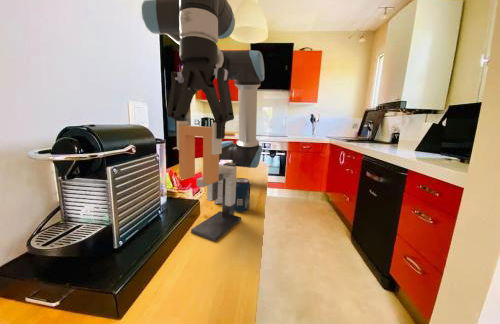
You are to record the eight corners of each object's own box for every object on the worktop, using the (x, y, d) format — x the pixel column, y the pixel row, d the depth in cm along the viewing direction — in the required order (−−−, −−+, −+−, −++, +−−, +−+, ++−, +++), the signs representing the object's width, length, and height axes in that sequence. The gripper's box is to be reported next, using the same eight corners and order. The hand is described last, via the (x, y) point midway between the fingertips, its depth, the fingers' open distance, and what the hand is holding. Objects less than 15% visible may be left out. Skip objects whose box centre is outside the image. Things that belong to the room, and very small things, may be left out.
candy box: (219, 192, 96) (220, 159, 93) (232, 193, 96) (233, 159, 93) (213, 204, 83) (214, 165, 80) (228, 205, 83) (229, 166, 80)
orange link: (188, 174, 50) (188, 125, 47) (218, 180, 46) (219, 127, 43) (179, 177, 47) (178, 125, 45) (210, 184, 43) (211, 127, 41)
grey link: (212, 197, 69) (213, 163, 67) (235, 203, 65) (236, 167, 63) (207, 200, 66) (207, 164, 64) (230, 206, 62) (231, 168, 60)
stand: (219, 214, 74) (221, 161, 71) (241, 220, 71) (243, 164, 67) (187, 235, 60) (186, 170, 56) (212, 244, 56) (213, 175, 52)
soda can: (233, 205, 83) (234, 177, 81) (250, 206, 83) (251, 178, 80) (230, 212, 76) (231, 182, 74) (248, 213, 76) (249, 183, 73)
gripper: (146, 41, 42) (151, 148, 47) (235, 24, 33) (231, 160, 37) (174, 53, 49) (176, 145, 53) (255, 41, 39) (249, 155, 44)
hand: (198, 151), depth 45 cm, fingers closed on orange link, 9 cm apart
